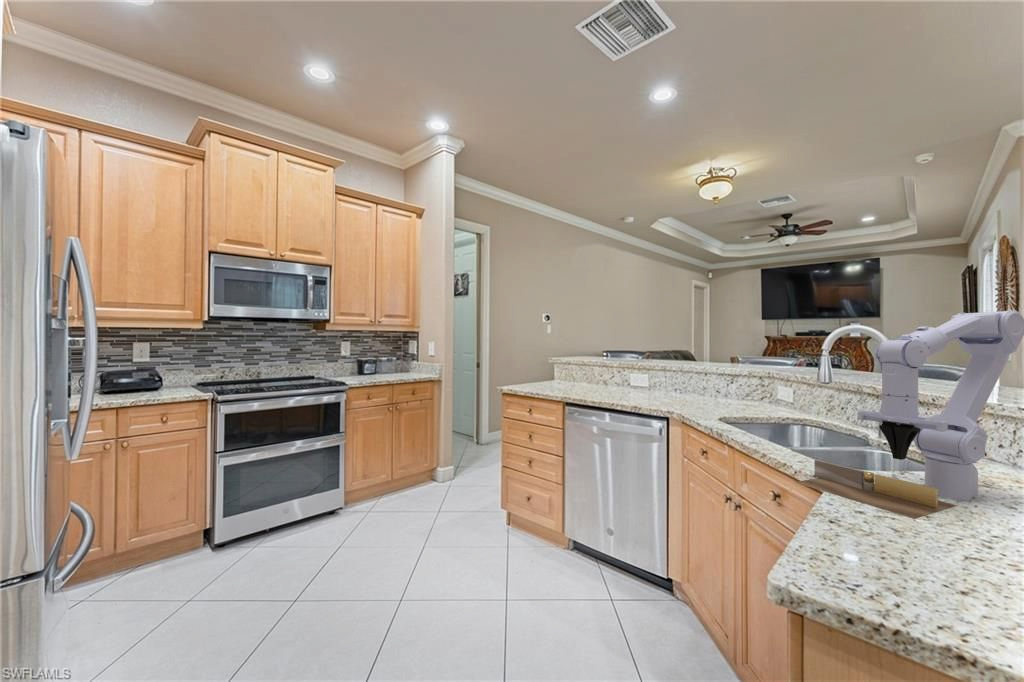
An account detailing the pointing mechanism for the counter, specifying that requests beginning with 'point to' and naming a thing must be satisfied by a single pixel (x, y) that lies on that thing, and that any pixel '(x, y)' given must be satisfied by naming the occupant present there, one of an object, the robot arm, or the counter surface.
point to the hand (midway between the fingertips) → (899, 458)
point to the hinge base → (864, 490)
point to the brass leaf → (904, 489)
